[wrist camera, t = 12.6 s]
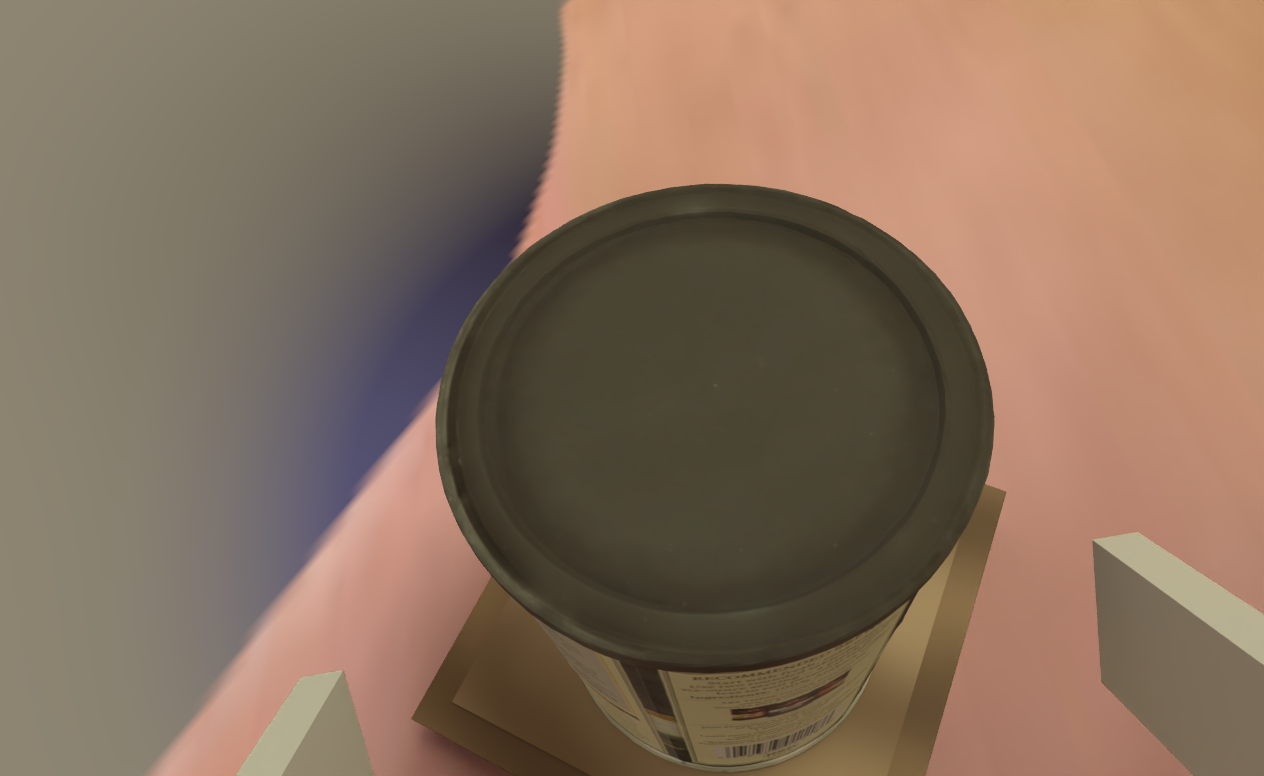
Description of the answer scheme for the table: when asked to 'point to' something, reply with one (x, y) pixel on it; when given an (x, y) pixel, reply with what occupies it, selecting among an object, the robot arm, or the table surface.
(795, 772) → the walnut board
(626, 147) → the table surface
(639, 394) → the coffee can
